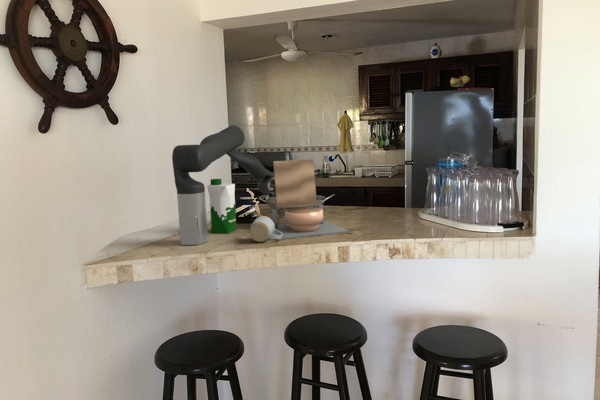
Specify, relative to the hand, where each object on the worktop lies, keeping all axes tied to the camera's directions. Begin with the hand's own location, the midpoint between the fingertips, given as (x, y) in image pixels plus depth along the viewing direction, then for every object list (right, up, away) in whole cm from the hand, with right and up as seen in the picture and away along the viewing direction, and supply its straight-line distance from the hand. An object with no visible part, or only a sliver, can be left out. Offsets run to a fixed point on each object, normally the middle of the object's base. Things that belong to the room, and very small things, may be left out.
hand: (290, 189), depth 182 cm
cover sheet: (+2, +2, -7) cm, 7 cm away
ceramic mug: (-7, -18, -27) cm, 33 cm away
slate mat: (+5, -15, -10) cm, 19 cm away
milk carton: (-25, -16, -8) cm, 31 cm away
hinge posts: (+3, -15, -6) cm, 16 cm away
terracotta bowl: (+6, -16, -13) cm, 21 cm away
